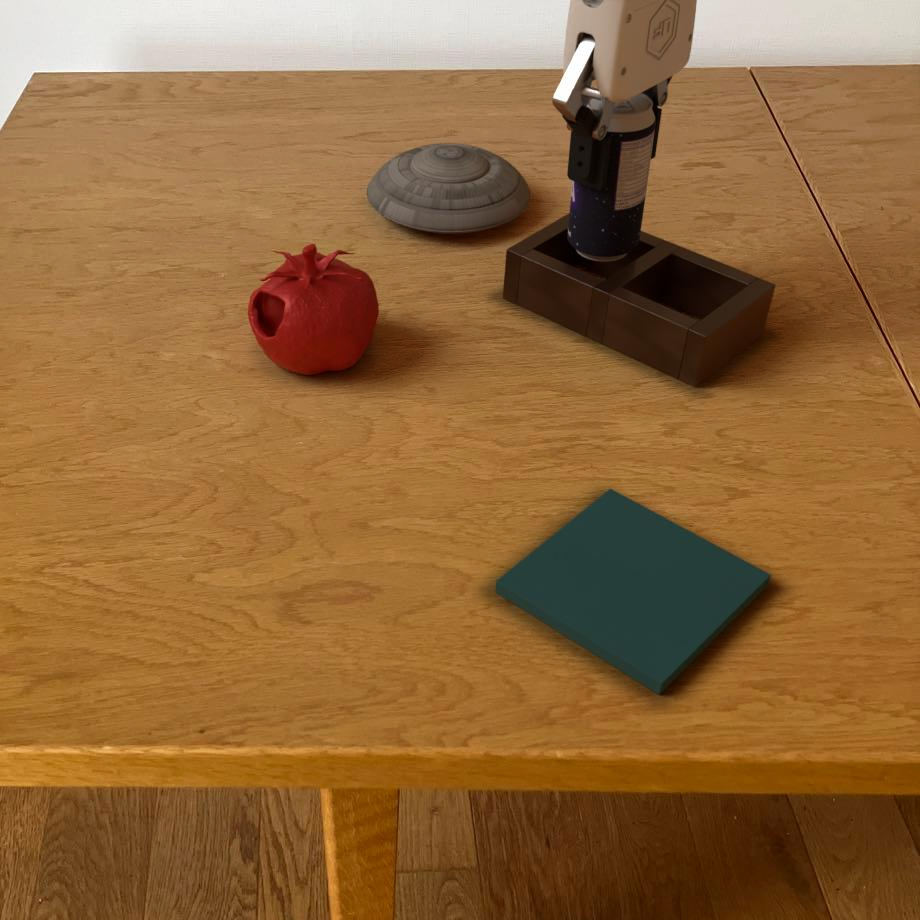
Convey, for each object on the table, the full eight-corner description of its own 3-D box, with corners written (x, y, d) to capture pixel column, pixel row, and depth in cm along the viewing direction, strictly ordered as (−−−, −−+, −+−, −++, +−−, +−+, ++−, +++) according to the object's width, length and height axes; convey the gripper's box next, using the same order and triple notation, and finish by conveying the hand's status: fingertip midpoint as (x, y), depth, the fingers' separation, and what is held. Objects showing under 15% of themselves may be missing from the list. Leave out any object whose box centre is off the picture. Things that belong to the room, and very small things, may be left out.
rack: (763, 334, 95) (776, 284, 92) (695, 387, 90) (706, 336, 87) (574, 253, 104) (580, 206, 101) (502, 298, 99) (506, 249, 96)
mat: (768, 586, 74) (771, 574, 73) (659, 695, 68) (662, 683, 67) (608, 499, 80) (610, 488, 79) (494, 592, 74) (495, 580, 73)
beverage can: (624, 228, 98) (643, 83, 90) (647, 262, 94) (669, 113, 86) (557, 235, 98) (570, 89, 90) (578, 270, 94) (593, 120, 85)
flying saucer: (338, 192, 113) (336, 136, 109) (472, 157, 118) (475, 103, 114) (420, 262, 103) (421, 204, 99) (561, 221, 109) (568, 163, 105)
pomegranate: (382, 318, 97) (382, 212, 90) (374, 390, 89) (374, 280, 83) (261, 313, 97) (252, 208, 91) (242, 385, 90) (232, 275, 84)
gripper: (612, -47, 73) (584, 225, 85) (759, -108, 82) (714, 146, 94) (515, -71, 77) (501, 193, 89) (666, -127, 86) (634, 120, 98)
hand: (611, 166), depth 91 cm, fingers closed on beverage can, 5 cm apart
